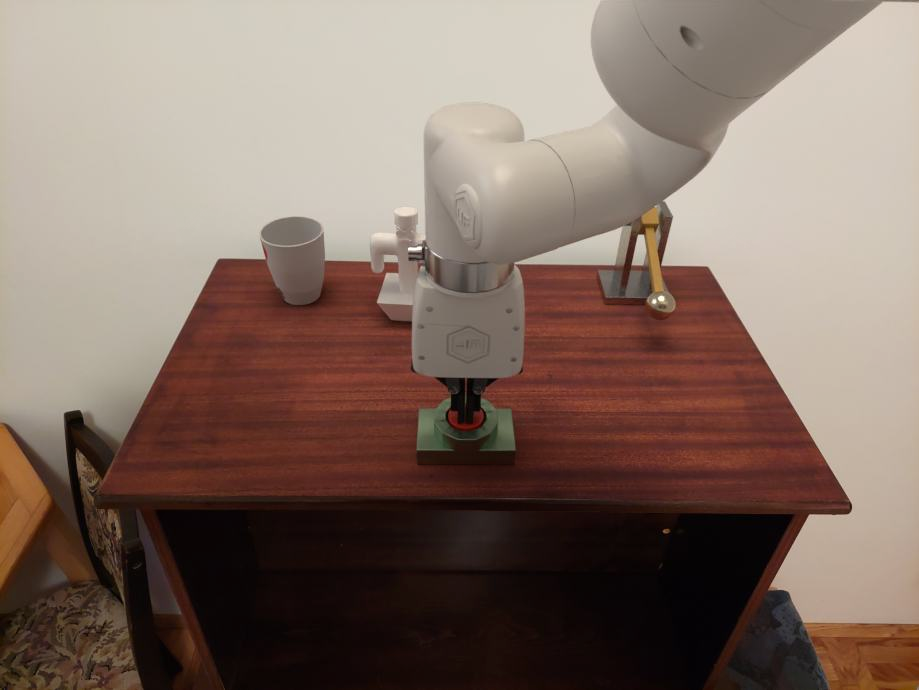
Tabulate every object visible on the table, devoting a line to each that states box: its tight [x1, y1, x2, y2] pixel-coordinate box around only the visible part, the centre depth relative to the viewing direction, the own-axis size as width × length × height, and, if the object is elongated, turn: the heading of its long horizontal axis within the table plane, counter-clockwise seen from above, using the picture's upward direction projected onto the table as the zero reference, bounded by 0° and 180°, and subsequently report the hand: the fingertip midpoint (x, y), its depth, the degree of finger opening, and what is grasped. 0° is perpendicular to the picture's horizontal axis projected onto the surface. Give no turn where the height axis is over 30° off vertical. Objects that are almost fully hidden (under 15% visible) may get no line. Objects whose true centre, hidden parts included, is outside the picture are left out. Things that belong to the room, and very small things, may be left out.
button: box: [448, 403, 484, 431], centre depth 66 cm, size 4×4×2 cm
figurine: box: [369, 206, 425, 322], centre depth 82 cm, size 7×9×15 cm
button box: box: [415, 394, 517, 465], centre depth 67 cm, size 10×6×4 cm, turn 91°
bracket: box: [596, 200, 674, 306], centre depth 88 cm, size 7×9×13 cm
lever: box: [638, 206, 677, 321], centre depth 82 cm, size 16×4×4 cm, turn 0°
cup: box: [258, 215, 326, 306], centre depth 86 cm, size 8×8×10 cm
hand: (465, 413), depth 66 cm, fingers closed
